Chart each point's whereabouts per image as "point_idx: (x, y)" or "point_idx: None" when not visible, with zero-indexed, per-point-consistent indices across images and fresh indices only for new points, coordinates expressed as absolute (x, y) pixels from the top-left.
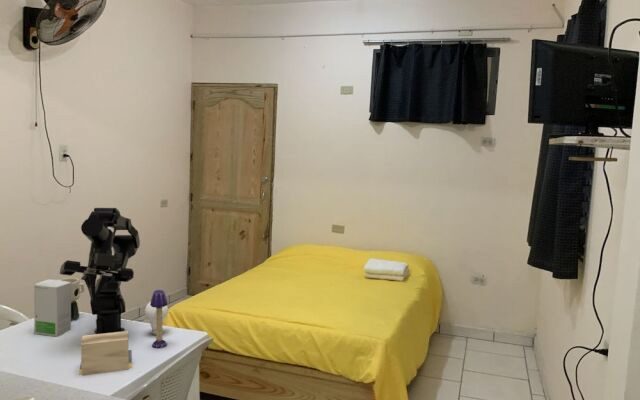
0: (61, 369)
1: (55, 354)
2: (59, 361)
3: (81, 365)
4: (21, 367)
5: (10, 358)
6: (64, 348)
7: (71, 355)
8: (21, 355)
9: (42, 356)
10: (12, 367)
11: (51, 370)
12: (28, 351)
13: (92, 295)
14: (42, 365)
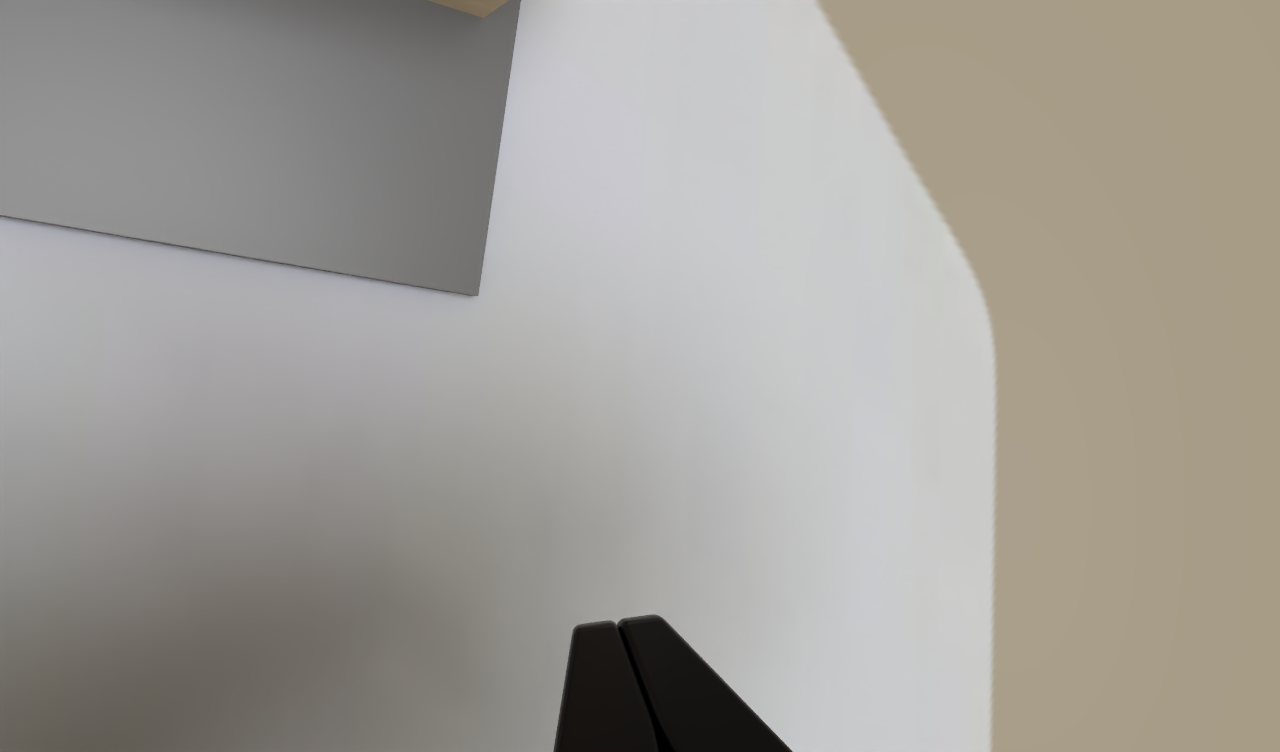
0: (668, 81)
1: (694, 482)
2: (673, 289)
3: (506, 17)
4: (917, 304)
5: (969, 528)
6: (616, 612)
7: (568, 393)
8: (911, 563)
9: (787, 477)
10: (962, 336)
11: (740, 109)
12: (869, 636)
13: (740, 710)
14: (794, 266)
